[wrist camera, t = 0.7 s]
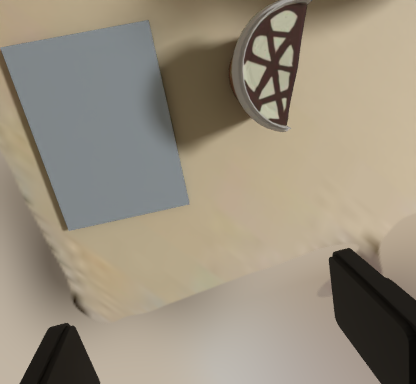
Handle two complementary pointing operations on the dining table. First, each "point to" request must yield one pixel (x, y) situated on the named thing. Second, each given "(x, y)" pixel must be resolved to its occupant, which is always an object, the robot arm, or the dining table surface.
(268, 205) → the dining table surface
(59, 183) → the slate mat
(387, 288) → the robot arm
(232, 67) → the food container
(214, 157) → the dining table surface
